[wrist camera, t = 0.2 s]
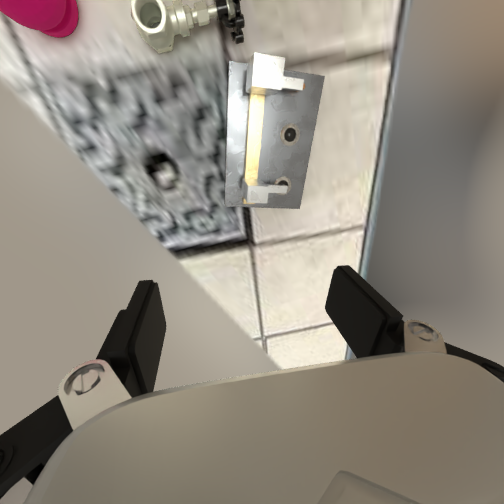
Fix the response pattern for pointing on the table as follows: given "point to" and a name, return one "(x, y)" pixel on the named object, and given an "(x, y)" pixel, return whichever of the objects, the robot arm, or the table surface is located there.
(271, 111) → the bolt plate
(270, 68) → the block
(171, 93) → the table surface
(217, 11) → the valve
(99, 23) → the table surface
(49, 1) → the magenta pepper mill
